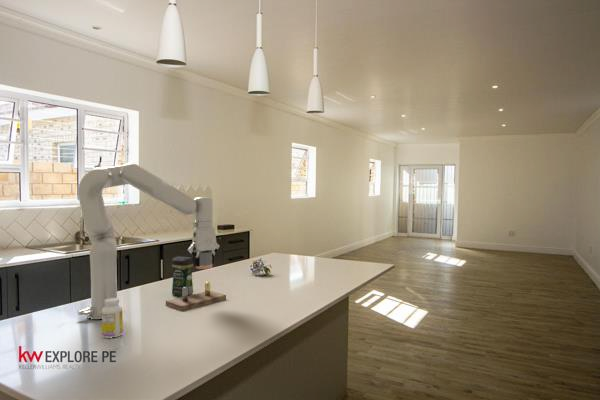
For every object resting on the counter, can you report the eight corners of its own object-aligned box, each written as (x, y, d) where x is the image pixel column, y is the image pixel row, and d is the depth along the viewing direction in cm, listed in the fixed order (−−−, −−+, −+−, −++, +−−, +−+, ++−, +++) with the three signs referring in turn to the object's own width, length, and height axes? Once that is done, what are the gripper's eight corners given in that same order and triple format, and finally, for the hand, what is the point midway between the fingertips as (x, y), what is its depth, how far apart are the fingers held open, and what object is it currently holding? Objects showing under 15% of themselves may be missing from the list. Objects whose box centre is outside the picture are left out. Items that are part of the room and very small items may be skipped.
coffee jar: (169, 295, 197) (168, 257, 197) (180, 291, 205) (180, 254, 204) (185, 297, 193) (184, 258, 193) (195, 293, 201) (195, 256, 200)
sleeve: (202, 269, 177) (202, 253, 177) (193, 267, 182) (193, 251, 181) (214, 267, 182) (214, 251, 182) (206, 265, 187) (206, 250, 186)
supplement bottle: (117, 330, 149) (116, 296, 149) (126, 335, 145) (125, 299, 145) (98, 336, 144) (97, 299, 144) (107, 340, 140) (106, 303, 139)
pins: (184, 301, 180) (184, 287, 180) (181, 300, 181) (181, 286, 181) (211, 295, 191) (211, 281, 190) (208, 294, 192) (208, 281, 192)
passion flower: (255, 284, 242) (243, 268, 243) (264, 277, 251) (253, 261, 252) (267, 276, 236) (255, 259, 237) (276, 269, 246) (265, 252, 247)
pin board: (180, 310, 173) (180, 306, 173) (165, 305, 181) (165, 300, 181) (226, 299, 191) (226, 294, 191) (210, 294, 199) (210, 290, 199)
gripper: (191, 226, 172) (191, 269, 173) (225, 224, 185) (225, 263, 186) (181, 225, 177) (182, 266, 178) (215, 223, 190) (215, 261, 191)
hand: (204, 264), depth 182 cm, fingers closed on sleeve, 6 cm apart
